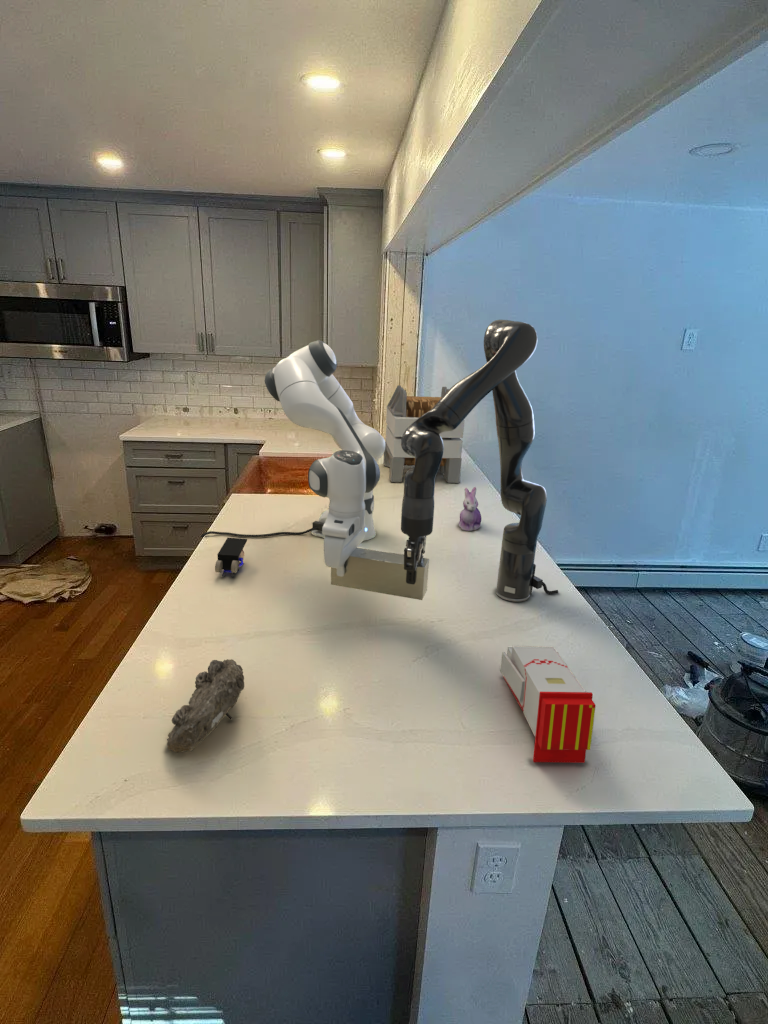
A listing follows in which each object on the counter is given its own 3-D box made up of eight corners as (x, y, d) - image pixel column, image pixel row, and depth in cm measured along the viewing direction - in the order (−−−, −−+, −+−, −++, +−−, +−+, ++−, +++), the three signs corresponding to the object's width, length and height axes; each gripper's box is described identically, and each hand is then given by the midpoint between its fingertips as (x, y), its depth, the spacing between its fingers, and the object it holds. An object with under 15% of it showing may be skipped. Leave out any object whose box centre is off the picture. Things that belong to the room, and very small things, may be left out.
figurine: (467, 533, 203) (471, 493, 198) (451, 523, 211) (454, 485, 206) (488, 529, 207) (492, 490, 202) (471, 520, 215) (475, 482, 210)
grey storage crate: (382, 463, 289) (386, 382, 275) (445, 464, 293) (451, 384, 279) (390, 482, 257) (394, 392, 243) (460, 483, 261) (468, 394, 247)
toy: (549, 628, 125) (605, 700, 96) (544, 683, 128) (596, 770, 99) (495, 627, 125) (534, 699, 95) (491, 683, 128) (527, 769, 98)
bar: (330, 584, 142) (331, 553, 139) (338, 575, 147) (338, 544, 144) (422, 600, 136) (424, 567, 133) (427, 590, 141) (429, 558, 138)
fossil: (192, 660, 117) (244, 628, 112) (224, 691, 120) (276, 661, 115) (142, 746, 98) (202, 712, 93) (182, 779, 101) (242, 748, 96)
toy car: (238, 584, 162) (249, 557, 175) (236, 562, 158) (247, 536, 172) (215, 584, 161) (227, 556, 175) (212, 561, 158) (225, 535, 171)
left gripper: (348, 503, 148) (347, 551, 153) (319, 530, 129) (318, 584, 134) (371, 506, 146) (369, 555, 151) (345, 534, 128) (343, 589, 133)
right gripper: (427, 525, 125) (422, 593, 131) (439, 505, 138) (434, 568, 144) (394, 520, 127) (390, 588, 132) (409, 501, 140) (405, 563, 146)
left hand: (345, 569), depth 143 cm, fingers closed on bar, 5 cm apart
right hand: (413, 577), depth 138 cm, fingers closed on bar, 5 cm apart
